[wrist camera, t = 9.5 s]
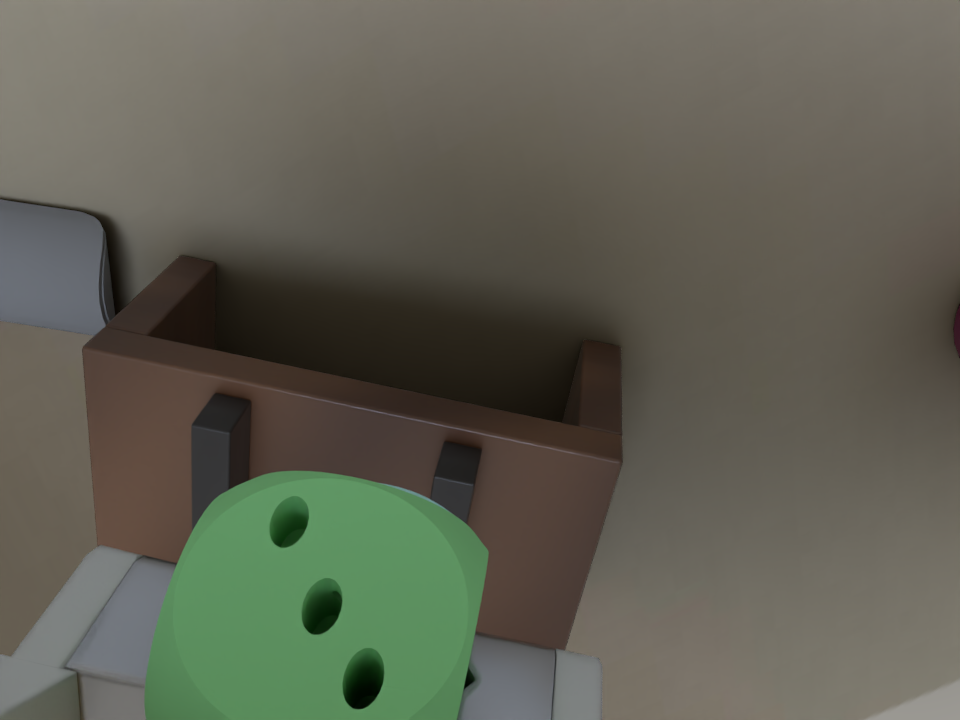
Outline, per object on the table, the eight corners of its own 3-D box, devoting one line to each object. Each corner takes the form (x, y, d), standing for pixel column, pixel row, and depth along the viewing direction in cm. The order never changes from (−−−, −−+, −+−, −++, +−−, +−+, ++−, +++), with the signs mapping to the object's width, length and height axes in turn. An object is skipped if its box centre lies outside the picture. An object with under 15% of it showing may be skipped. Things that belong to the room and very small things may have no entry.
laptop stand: (621, 345, 27) (624, 512, 20) (555, 580, 32) (539, 778, 26) (179, 254, 28) (36, 387, 21) (182, 500, 33) (68, 672, 26)
